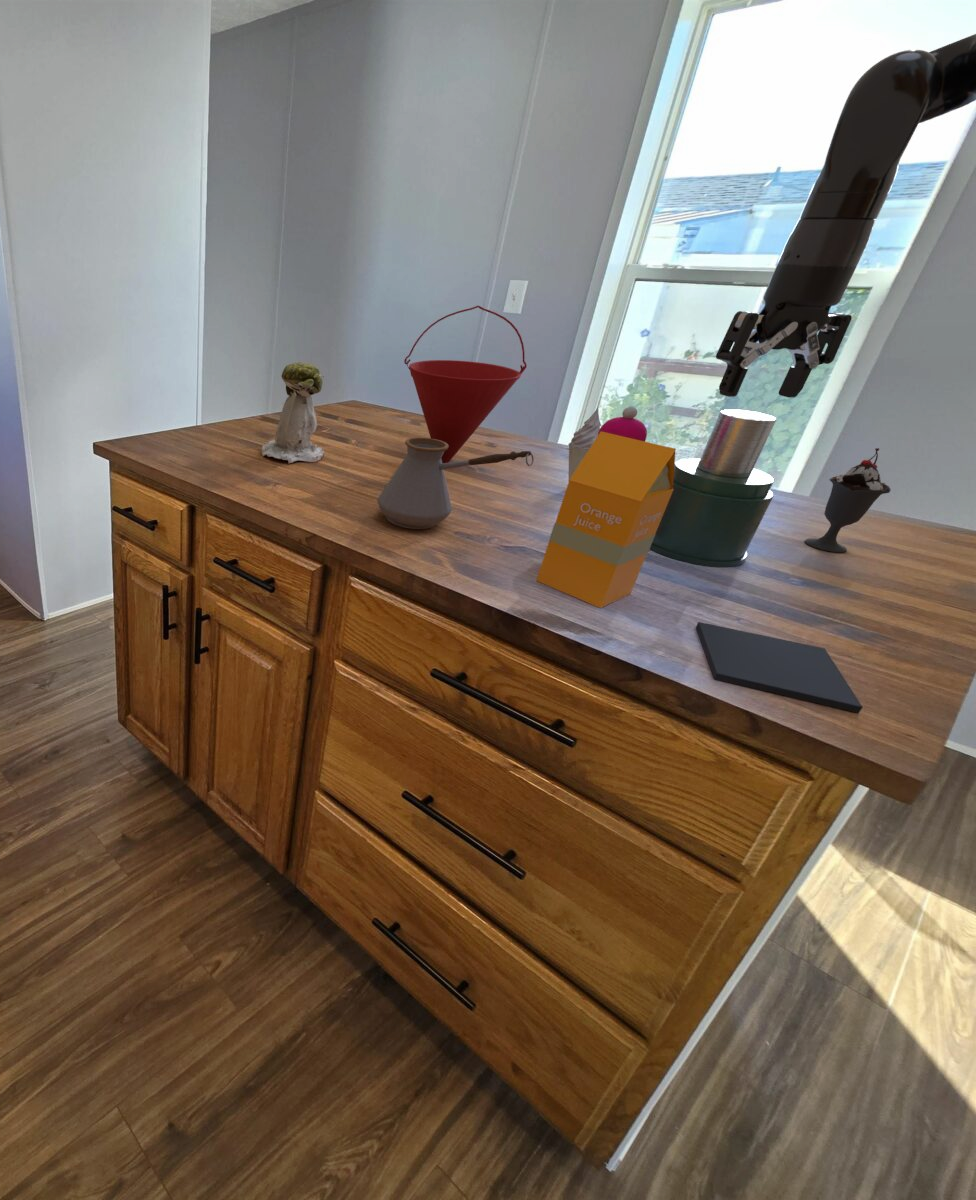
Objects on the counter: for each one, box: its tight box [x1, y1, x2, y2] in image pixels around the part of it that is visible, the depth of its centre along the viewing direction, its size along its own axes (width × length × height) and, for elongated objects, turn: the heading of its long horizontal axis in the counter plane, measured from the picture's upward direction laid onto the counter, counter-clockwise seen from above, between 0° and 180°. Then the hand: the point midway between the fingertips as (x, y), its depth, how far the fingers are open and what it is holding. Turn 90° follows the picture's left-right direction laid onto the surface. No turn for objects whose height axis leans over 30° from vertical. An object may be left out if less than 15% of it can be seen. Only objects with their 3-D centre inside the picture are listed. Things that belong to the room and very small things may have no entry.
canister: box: [649, 458, 775, 568], centre depth 97 cm, size 14×14×12 cm
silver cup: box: [697, 409, 777, 478], centre depth 92 cm, size 6×6×8 cm
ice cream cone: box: [567, 407, 602, 484], centre depth 118 cm, size 5×5×15 cm
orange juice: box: [536, 432, 677, 609], centre depth 83 cm, size 8×9×20 cm
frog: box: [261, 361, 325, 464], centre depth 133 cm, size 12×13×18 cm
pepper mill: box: [597, 406, 648, 442], centre depth 98 cm, size 7×7×20 cm
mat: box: [695, 621, 863, 714], centre depth 72 cm, size 12×12×1 cm
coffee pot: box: [377, 437, 535, 530], centre depth 100 cm, size 21×12×15 cm, turn 44°
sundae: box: [804, 447, 891, 554], centre depth 97 cm, size 7×7×15 cm
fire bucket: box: [403, 305, 528, 463], centre depth 124 cm, size 22×20×30 cm
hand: (757, 396), depth 89 cm, fingers open, 8 cm apart
